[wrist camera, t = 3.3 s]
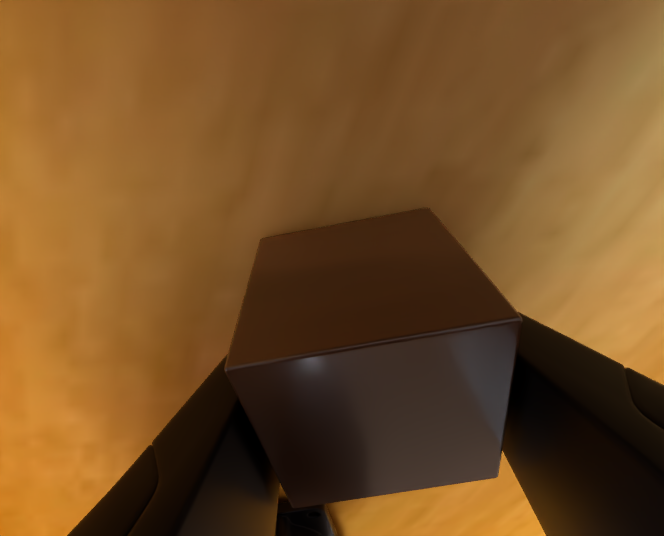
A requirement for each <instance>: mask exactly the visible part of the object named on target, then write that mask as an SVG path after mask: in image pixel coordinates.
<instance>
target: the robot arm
mask: <svg viewBox="0 0 664 536" xmlns="http://www.w3.org/2000/svg"><path fill="white" fill-rule="evenodd" d="M518 313H519V312H518ZM519 314H520V315H521V317H522V327H521V333H520V339H519V346H518V352H517V358H516V365H515V371H514V377H513V384H512V390H511V396H510V403H509V409H508V415H507V422H506V428H505V434H504V441H503V447H502V450H503V452H504V454H505V456H506V458H507V460H508V462H509V464H510V466H511V468H512V470H513V472H514V474H515V476H516V478H517V480H518V481H519V483H520V485H521V487H522V489H523V491H524V493H525V495H526V497H527V499H528V501H529V503H530V505H531V507H532V509H533V511H534V513H535V514H536V516H537V518H538V520H539V522H540V524H541V526H542V528H543V530H544V532H545V534H546V536H664V385H662V384H660V383H658V382H656V381H654V380H652V379H650V378H648V377H646V376H644V375H642V374H640V373H638V372H636V371H634V370H632V369H630V368H625V369H624V366H623V365H622V364H620V363H618V362H616V361H614V360H612V359H610V358H608V357H606V356H604V355H602V354H600V353H598V352H596V351H594V350H592V349H590V348H588V347H586V346H584V345H582V344H581V343H579V342H577V341H575V340H573V339H571V338H569V337H567V336H565V335H563V334H561V333H559V332H557V331H555V330H553V329H551V328H549V327H547V326H545V325H543V324H541V323H539V322H537V321H535V320H533V319H531V318H529V317H527V316H525V315H523V314H521V313H519ZM227 356H228V354H227V355H226V356H225V358H224V359H223V360H222V361H221V362H220V363H219V365H218V366H217V367H216V368H215V369H214V370H213V372H212V373H211V374H210V375H209V376H208V377H207V379H206V380H205V381H204V382H203V383H202V384H201V386H200V387H199V388H198V389H197V390H196V391H195V393H194V394H193V395H192V396H191V397H190V398H189V400H188V401H187V402H186V403H185V404H184V405H183V407H182V408H181V409H180V410H179V411H178V412H177V414H176V415H175V416H174V417H173V418H172V419H171V421H170V422H169V423H168V424H167V425H166V426H165V428H164V429H163V430H162V431H161V432H160V433H159V435H158V436H157V437H156V438H155V439H154V440H153V442H152V445H153V446H152V445H149V446H148V447H147V448H146V450H145V451H144V452H143V453H142V454H141V455H140V457H139V458H138V459H137V460H136V461H135V462H134V464H133V465H132V466H131V467H130V468H129V469H128V470H127V471H126V473H125V474H124V475H123V476H122V477H121V478H120V479H119V480H118V482H117V483H116V484H115V485H114V486H113V487H112V488H111V489H110V491H109V492H108V493H107V494H106V495H105V496H104V497H103V498H102V499H101V500H100V501H99V502H98V503H97V505H96V506H95V507H94V508H93V509H92V510H91V511H90V512H89V513H88V514H87V515H86V516H85V517H84V518H83V519H82V520H81V521H80V522H79V524H78V525H77V526H76V527H75V528H74V529H73V530H72V531H71V532H70V533H69V534H68V535H67V536H338V534H337V531H336V529H335V526H334V524H333V521H332V518H331V516H330V513H329V511H328V508H327V505H326V504H320V505H314V506H307V507H300V508H293V507H292V506H291V504H290V502H283V503H278V497H279V486H280V481H279V479H278V477H277V475H276V473H275V471H274V469H273V467H272V465H271V463H270V461H269V459H268V457H267V455H266V453H265V451H264V449H263V447H262V445H261V443H260V441H259V439H258V437H257V435H256V433H255V431H254V429H253V427H252V425H251V423H250V421H249V419H248V417H247V415H246V413H245V411H244V409H243V407H242V405H241V403H240V401H239V399H238V397H237V395H236V393H235V391H234V389H233V387H232V385H231V383H230V381H229V379H228V377H227V375H226V373H225V370H224V366H225V363H226V359H227Z"/></svg>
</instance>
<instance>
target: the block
mask: <svg viewBox="0 0 664 536" xmlns="http://www.w3.org/2000/svg"><path fill="white" fill-rule="evenodd" d="M521 327H522V317H521V315H520V314H519V313H518V312H517V311H516V310H515V308H514V307H513V306H512V305H511V304H510V302H509V301H508V300H507V299H506V298H505V297H504V295H503V294H502V293H501V292H500V291H499V289H498V288H497V287H496V286H495V285H494V284H493V282H492V281H491V280H490V279H489V278H488V277H487V275H486V274H485V273H484V272H483V271H482V269H481V268H480V267H479V266H478V265H477V264H476V262H475V261H474V260H473V259H472V258H471V257H470V255H469V254H468V253H467V252H466V251H465V249H464V248H463V247H462V246H461V245H460V244H459V242H458V241H457V240H456V239H455V238H454V236H453V235H452V234H451V233H450V232H449V231H448V229H447V228H446V227H445V226H444V225H443V224H442V222H441V221H440V220H439V219H438V218H437V216H436V215H435V214H434V213H433V212H432V211H431V209H430V208H423V209H418V210H412V211H407V212H402V213H396V214H391V215H385V216H380V217H375V218H369V219H364V220H359V221H353V222H348V223H342V224H337V225H332V226H326V227H321V228H316V229H310V230H305V231H300V232H294V233H289V234H283V235H278V236H273V237H267V238H262V239H261V240H260V243H259V247H258V250H257V254H256V257H255V261H254V264H253V268H252V271H251V275H250V278H249V282H248V285H247V289H246V292H245V296H244V299H243V303H242V306H241V310H240V314H239V317H238V321H237V324H236V328H235V331H234V335H233V338H232V342H231V345H230V349H229V352H228V356H227V359H226V363H225V366H224V370H225V373H226V375H227V377H228V379H229V381H230V383H231V385H232V387H233V389H234V391H235V393H236V395H237V397H238V399H239V401H240V403H241V405H242V407H243V409H244V411H245V413H246V415H247V417H248V419H249V421H250V423H251V425H252V427H253V429H254V431H255V433H256V435H257V437H258V439H259V441H260V443H261V445H262V447H263V449H264V451H265V453H266V455H267V457H268V459H269V461H270V463H271V465H272V467H273V469H274V471H275V473H276V475H277V477H278V479H279V481H280V483H281V485H282V487H283V489H284V491H285V493H286V495H287V497H288V500H289V502H290V504H291V506H292V507H293V508H300V507H307V506H314V505H320V504H327V503H333V502H340V501H346V500H353V499H360V498H366V497H373V496H379V495H386V494H393V493H399V492H406V491H412V490H419V489H425V488H432V487H439V486H445V485H452V484H458V483H465V482H471V481H478V480H485V479H491V478H496V477H498V472H499V466H500V460H501V453H502V447H503V441H504V434H505V428H506V422H507V415H508V409H509V403H510V396H511V390H512V384H513V377H514V371H515V365H516V358H517V352H518V346H519V339H520V333H521Z"/></svg>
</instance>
